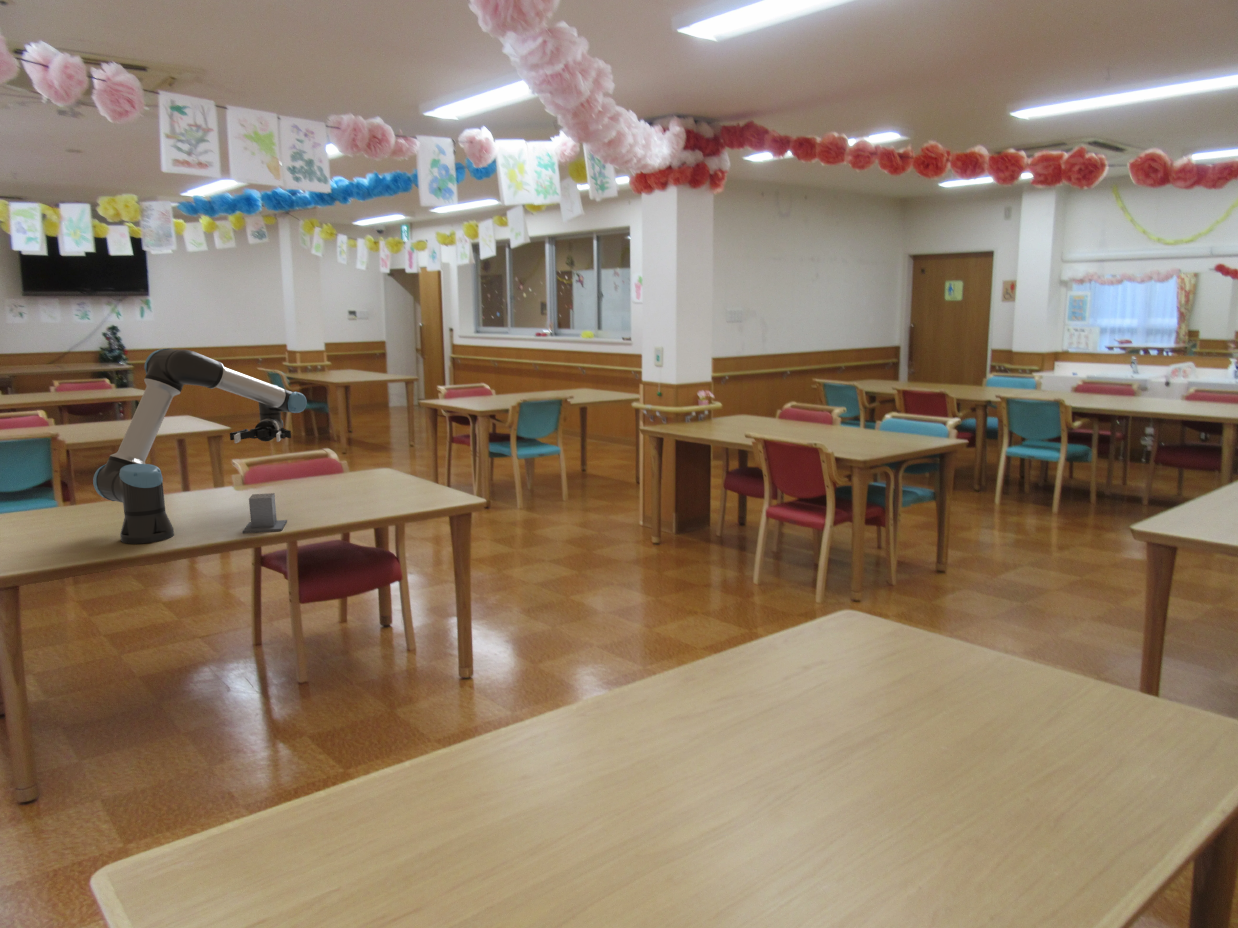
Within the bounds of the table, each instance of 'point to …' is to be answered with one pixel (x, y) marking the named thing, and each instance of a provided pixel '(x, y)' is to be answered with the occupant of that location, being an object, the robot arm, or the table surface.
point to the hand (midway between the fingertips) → (256, 438)
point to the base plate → (277, 527)
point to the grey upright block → (262, 510)
